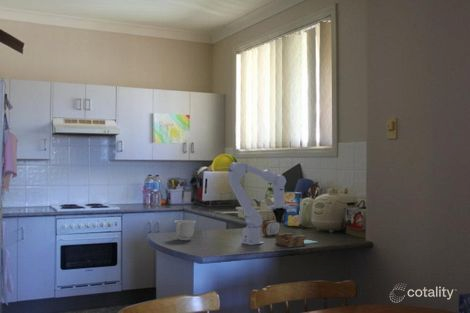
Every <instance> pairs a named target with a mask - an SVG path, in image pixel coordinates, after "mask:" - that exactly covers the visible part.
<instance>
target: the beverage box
mask: <svg viewBox="0 0 470 313" xmlns="http://www.w3.org/2000/svg"><path fill="white" fill-rule="evenodd" d="M301 201H302V202H303V192H302V191H300V192H299V191H298V192H297V191H284V205H286V204H288V205H290V208H284V209H285V212H284V214H283V226H288V227H289V226H291V227H293V226H294V227H300V226H299V211H300V204H301Z"/></svg>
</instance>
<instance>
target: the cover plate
mask: <svg viewBox="0 0 470 313" xmlns="http://www.w3.org/2000/svg"><path fill="white" fill-rule="evenodd" d="M304 243H305V245H313V244H318V243H319V242H318V241H316V240H309V239H304ZM305 245H304V246H305Z"/></svg>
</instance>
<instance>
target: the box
mask: <svg viewBox="0 0 470 313" xmlns="http://www.w3.org/2000/svg"><path fill="white" fill-rule="evenodd" d="M274 239H275V243H274V245H276V246H279V247H280V246H282V247H286V248H292V247H293V248H294V247H300V246H305V243H304V240H306V235H305V234H303V235H295V236H294V235H293V233H292V232H289V233H280V234H279V233H278V234H277V235H274Z"/></svg>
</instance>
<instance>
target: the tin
mask: <svg viewBox="0 0 470 313" xmlns="http://www.w3.org/2000/svg"><path fill="white" fill-rule="evenodd" d="M261 228H262V230H261V231H262V234H263V235H264V236H268V237H270V236H275V235H278V234H279V232H280V230H281V223H277V221H276V219H274V220H266V221H265V222H264V224H262V227H261Z"/></svg>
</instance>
